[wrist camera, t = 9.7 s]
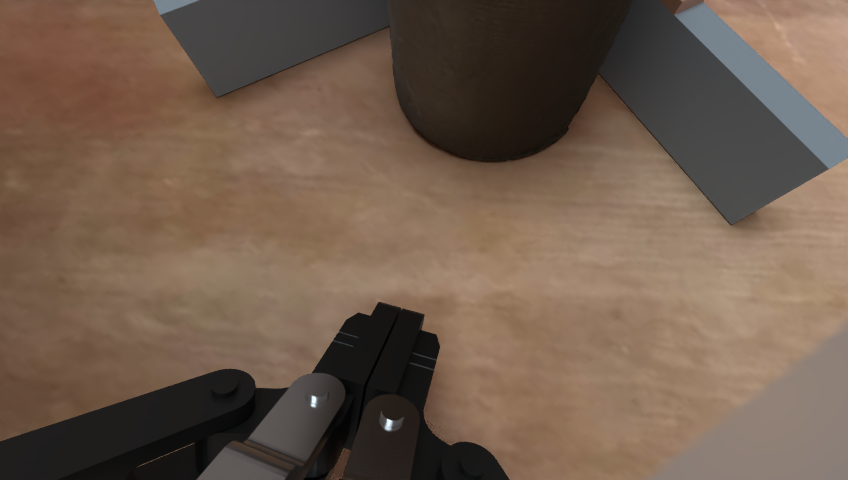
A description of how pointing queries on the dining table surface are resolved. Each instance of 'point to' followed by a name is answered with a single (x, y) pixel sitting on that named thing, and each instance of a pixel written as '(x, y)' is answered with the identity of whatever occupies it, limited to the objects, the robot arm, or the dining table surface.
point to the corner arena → (622, 69)
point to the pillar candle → (498, 69)
